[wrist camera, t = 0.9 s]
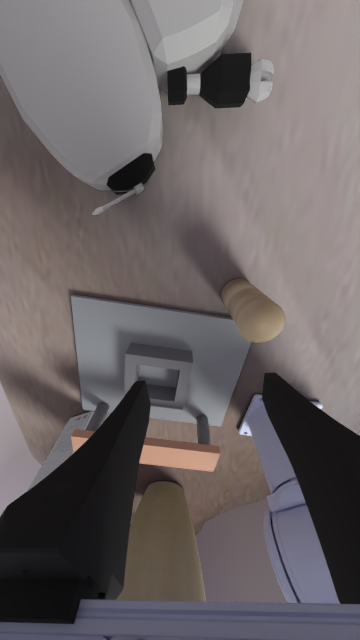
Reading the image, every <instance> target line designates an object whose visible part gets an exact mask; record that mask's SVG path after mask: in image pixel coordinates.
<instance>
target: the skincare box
mask: <svg viewBox="0 0 360 640" xmlns="http://www.w3.org/2000/svg"><path fill="white" fill-rule="evenodd" d="M93 413H94V412H93V411H90V412H87V413H84V414H81V415H78V416H75V417H72V418H70V419H69V421H68V422H67V424H66V426H65V428H64V429H63V431H62V433H61V434H60V436H59V438H58V439H57V441H56V443H55V445H54V446H53V448H52V450H51V451H50V453H49V455H48V457H47V458H46V460H45V462H44V463H43V465H42V467H41V469H40V470H39V472H38V474H37V475H36V477H35V479H34V480H33V482H32V484H31V486H30V487H29V489H28V490H30V489H31V488H32V487H34V486H35V485H36V484H38V483H39V482H40V481H41V480H43V479H44V478H45V477H46V476H48V475H49V474H50V473H51V472H53V471H54V470H55V469H56V468H57V467H58V466H60V465H61V464H62V463H63V462H64V461H65V460H67V459H68V458H69V457H70V456H71V455H72V454H73V453H74V452H73V446H72V440H71V435H72V434H73V432H74V430H75V429H79V430H85V429H86V427H87V425H88V423H89V421H90V419H91V417H92V415H93ZM102 424H103V423H102Z"/></svg>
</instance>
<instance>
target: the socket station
mask: <svg viewBox="0 0 360 640" xmlns="http://www.w3.org/2000/svg"><path fill="white" fill-rule="evenodd" d="M71 304H72V313H73V323H74V332H75V342H76V351H77V361H78V370H79V380H80V389H81V399H82V408H83V410H90V411H94V413H93V415H92V417H91V419H90V421H89V423H88V425H87V427H86V429H85V430H79V429H75V430H74V432H73V434H72V435H71V440H72V446H73V452H75V451H76V450H77V449H78V448H80V447H81V446H82V445H83V444H84V443H85V442H86V441H87V440H88V439H89V438H90V437H91V436H92V435H93V433H94V432H95V431H96V430H97V429H98V428H99V427H100V426H101V425H102V423H103V421H104V419H105V416H106V414H107V413H112V412H113V410H114V409H115V408H116V407H117V405H118V404H119V403H120V401H121V400H122V399H123V397H124V396H125V395H126V393H127V392H128V391H129V389H130V388H131V386H132V385H133V384H134V382H135V381H145V382H146V386H147V390H148V394H149V399H150V403H151V408H150V416H149V418H155V419H163V420H171V421H179V422H187V423H195V424H197V434H198V444H196V443H188V442H179V441H171V440H163V439H154V438H146V437H145V440H144V445H143V449H142V453H141V457H140V462H139V463H141V464H150V465H159V466H168V467H177V468H185V469H194V470H203V471H212V472H213V471H214V468H215V466H216V463H217V461H218V458H219V456H220V448H219V446H213V445H211V440H210V432H209V425H211V426H219V427H221V424H222V422H223V419H224V416H225V413H226V411H227V408H228V405H229V403H230V400H231V397H232V394H233V392H234V389H235V386H236V384H237V381H238V378H239V375H240V373H241V370H242V367H243V364H244V362H245V359H246V356H247V354H248V351H249V348H250V345H251V343H252V342H251V341H248V340H246V339H245V338H244V337H243V336H242V335H241V333H240V331H239V330H238V328H237V326H236V324H235V322H234V321H233V319H232V318H230V317H223V316H216V315H210V314H203V313H196V312H189V311H183V310H176V309H169V308H162V307H156V306H149V305H142V304H135V303H129V302H122V301H115V300H108V299H101V298H95V297H88V296H81V295H72V296H71Z"/></svg>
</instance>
